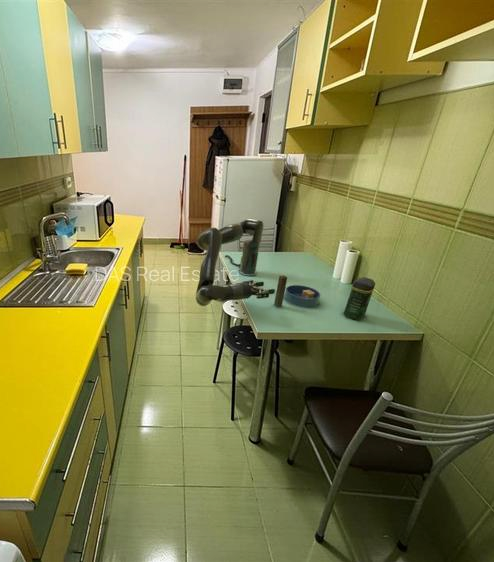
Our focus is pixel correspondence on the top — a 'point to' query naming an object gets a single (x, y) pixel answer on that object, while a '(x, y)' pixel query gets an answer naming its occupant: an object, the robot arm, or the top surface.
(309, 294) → the block
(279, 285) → the stick
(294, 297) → the bowl
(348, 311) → the coffee jar
